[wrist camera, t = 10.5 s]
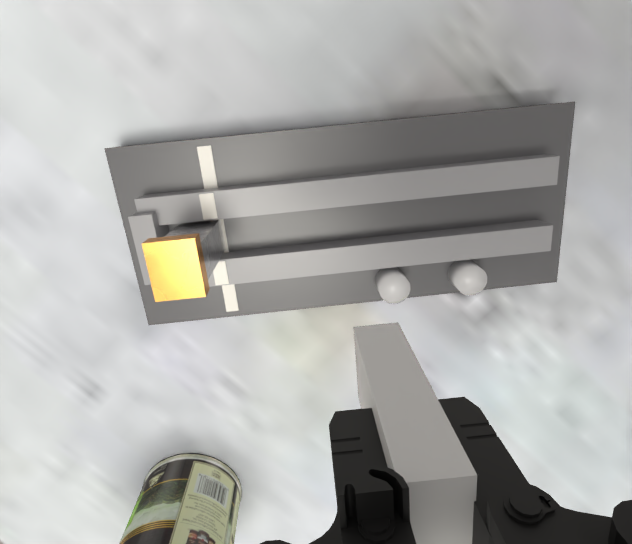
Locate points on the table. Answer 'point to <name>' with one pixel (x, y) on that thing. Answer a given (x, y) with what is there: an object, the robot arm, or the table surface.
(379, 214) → the console
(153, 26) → the table surface
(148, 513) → the coffee can
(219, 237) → the fader
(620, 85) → the table surface
